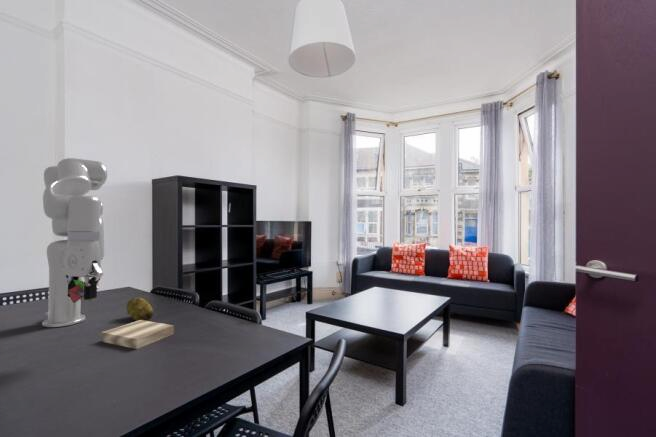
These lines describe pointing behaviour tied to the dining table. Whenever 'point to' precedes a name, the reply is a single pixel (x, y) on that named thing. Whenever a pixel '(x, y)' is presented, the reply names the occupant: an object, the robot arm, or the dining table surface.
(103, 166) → the robot arm
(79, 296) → the geometric puzzle
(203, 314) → the dining table surface
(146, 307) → the potato
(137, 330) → the birch platform
